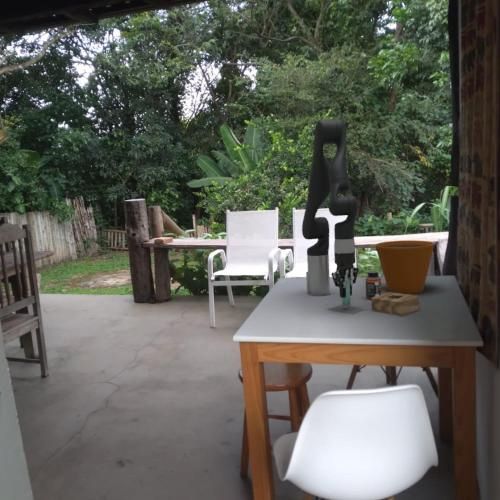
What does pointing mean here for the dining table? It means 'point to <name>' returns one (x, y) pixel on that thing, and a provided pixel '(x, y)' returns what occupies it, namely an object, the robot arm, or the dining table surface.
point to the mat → (347, 309)
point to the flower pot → (405, 264)
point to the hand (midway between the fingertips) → (346, 296)
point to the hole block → (395, 303)
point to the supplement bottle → (373, 285)
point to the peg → (346, 300)
